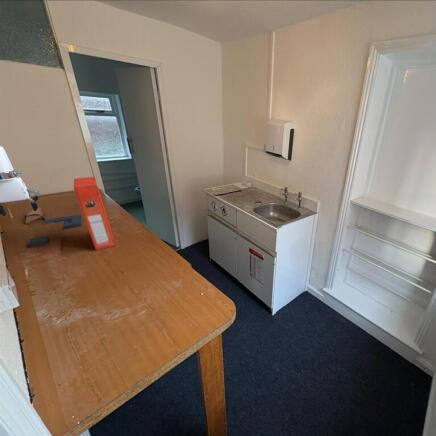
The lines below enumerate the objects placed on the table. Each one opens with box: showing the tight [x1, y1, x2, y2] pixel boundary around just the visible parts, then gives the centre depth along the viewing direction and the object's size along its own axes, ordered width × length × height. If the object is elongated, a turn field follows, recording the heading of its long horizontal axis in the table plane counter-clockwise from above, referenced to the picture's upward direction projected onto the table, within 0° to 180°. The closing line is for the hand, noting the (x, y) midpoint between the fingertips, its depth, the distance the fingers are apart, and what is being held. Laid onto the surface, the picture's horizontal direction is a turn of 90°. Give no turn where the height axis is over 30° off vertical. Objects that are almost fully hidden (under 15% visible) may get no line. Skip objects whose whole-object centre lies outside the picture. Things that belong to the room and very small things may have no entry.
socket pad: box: [43, 213, 83, 230], centre depth 135 cm, size 16×16×2 cm
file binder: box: [73, 176, 116, 251], centre depth 114 cm, size 8×17×32 cm, turn 40°
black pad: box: [28, 235, 50, 249], centre depth 113 cm, size 6×6×4 cm
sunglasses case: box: [24, 206, 46, 225], centre depth 141 cm, size 18×7×7 cm, turn 46°
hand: (20, 212), depth 106 cm, fingers open, 9 cm apart
